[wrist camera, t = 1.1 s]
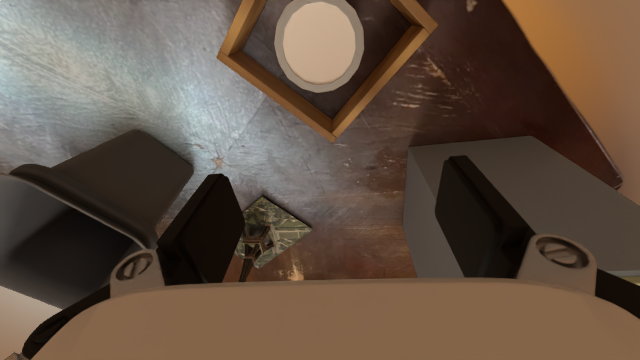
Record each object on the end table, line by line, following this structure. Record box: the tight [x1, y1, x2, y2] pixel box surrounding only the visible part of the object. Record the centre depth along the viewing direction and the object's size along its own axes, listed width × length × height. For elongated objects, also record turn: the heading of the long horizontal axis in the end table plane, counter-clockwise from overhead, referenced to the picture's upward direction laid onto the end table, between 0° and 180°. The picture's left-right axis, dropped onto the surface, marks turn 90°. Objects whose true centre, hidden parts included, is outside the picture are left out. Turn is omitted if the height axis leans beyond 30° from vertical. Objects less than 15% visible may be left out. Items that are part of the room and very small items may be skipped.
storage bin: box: [0, 129, 194, 310], centre depth 30 cm, size 21×16×14 cm
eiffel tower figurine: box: [234, 197, 313, 282], centre depth 36 cm, size 15×10×13 cm
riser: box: [402, 136, 640, 278], centre depth 26 cm, size 14×14×18 cm
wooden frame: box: [217, 0, 438, 143], centre depth 23 cm, size 14×14×4 cm
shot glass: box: [274, 0, 364, 93], centre depth 22 cm, size 7×7×7 cm
